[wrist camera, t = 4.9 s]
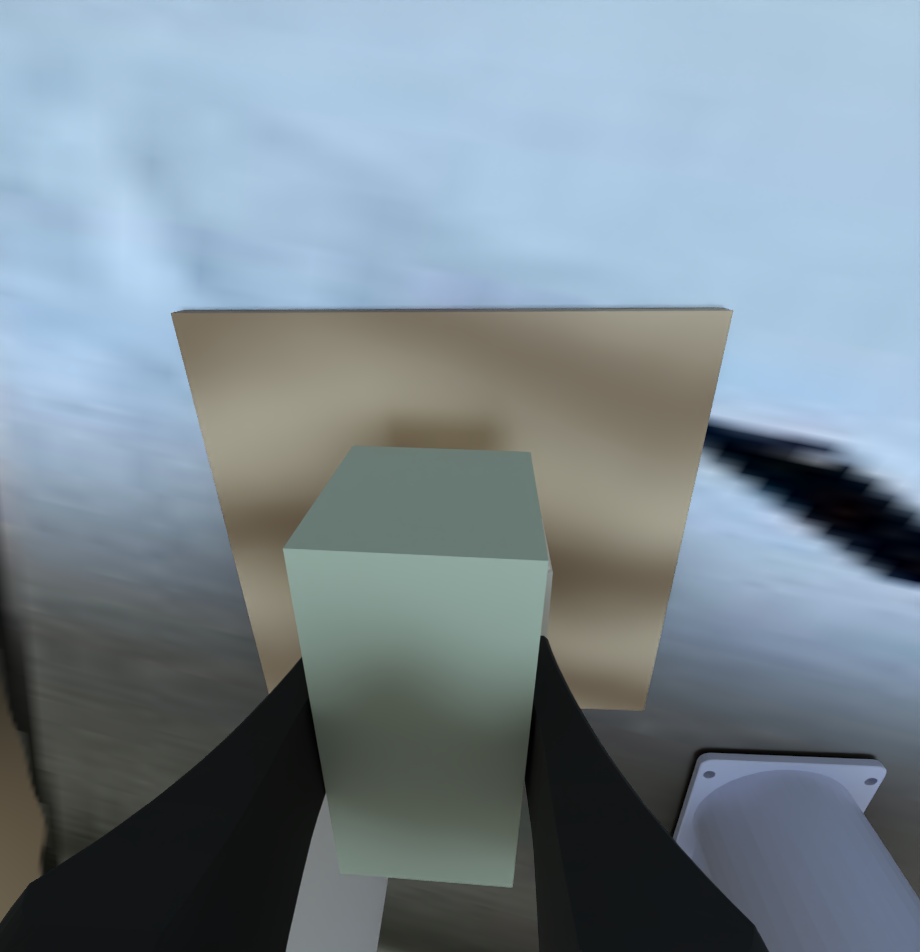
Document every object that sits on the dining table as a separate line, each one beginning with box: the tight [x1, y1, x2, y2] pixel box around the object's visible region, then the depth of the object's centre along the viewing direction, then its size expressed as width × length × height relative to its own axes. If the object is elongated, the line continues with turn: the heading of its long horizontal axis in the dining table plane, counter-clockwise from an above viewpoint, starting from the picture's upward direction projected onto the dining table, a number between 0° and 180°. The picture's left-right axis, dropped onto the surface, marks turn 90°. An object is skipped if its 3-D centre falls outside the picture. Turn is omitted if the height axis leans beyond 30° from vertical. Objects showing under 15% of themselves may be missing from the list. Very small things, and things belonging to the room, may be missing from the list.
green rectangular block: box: [283, 446, 549, 887], centre depth 12 cm, size 10×4×4 cm, turn 179°
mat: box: [171, 308, 733, 711], centre depth 18 cm, size 16×16×1 cm
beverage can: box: [286, 794, 388, 952], centre depth 20 cm, size 8×8×12 cm
